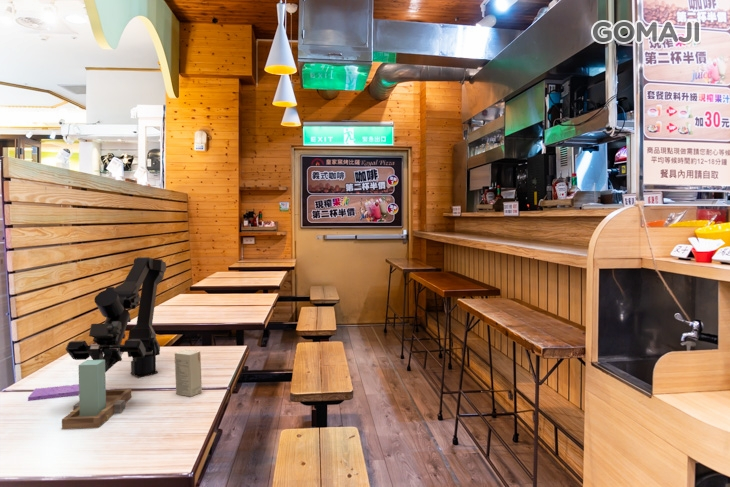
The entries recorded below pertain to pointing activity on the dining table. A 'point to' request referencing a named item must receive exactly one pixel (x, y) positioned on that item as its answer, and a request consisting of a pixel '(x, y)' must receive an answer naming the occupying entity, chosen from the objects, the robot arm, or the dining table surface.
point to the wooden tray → (113, 406)
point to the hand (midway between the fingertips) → (97, 378)
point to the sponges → (54, 392)
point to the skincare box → (188, 372)
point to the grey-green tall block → (92, 387)
